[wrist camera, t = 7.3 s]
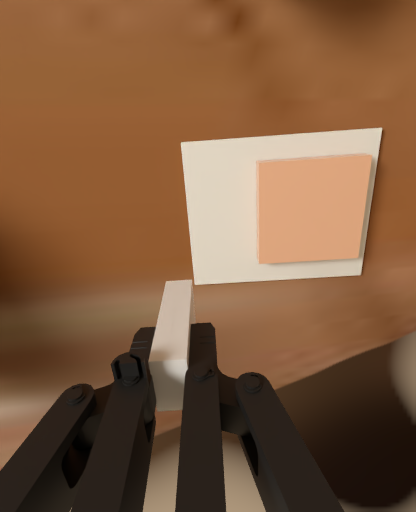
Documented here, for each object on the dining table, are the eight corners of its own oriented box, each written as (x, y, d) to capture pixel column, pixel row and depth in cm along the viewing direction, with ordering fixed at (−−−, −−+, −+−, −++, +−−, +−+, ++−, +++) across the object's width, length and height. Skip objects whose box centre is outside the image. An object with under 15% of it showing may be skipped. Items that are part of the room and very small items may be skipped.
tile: (259, 264, 38) (358, 258, 37) (258, 162, 33) (372, 154, 33) (256, 257, 40) (350, 251, 39) (256, 160, 35) (363, 152, 35)
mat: (194, 282, 42) (194, 284, 41) (181, 142, 35) (180, 142, 34) (358, 272, 41) (360, 275, 41) (379, 127, 34) (382, 127, 34)
